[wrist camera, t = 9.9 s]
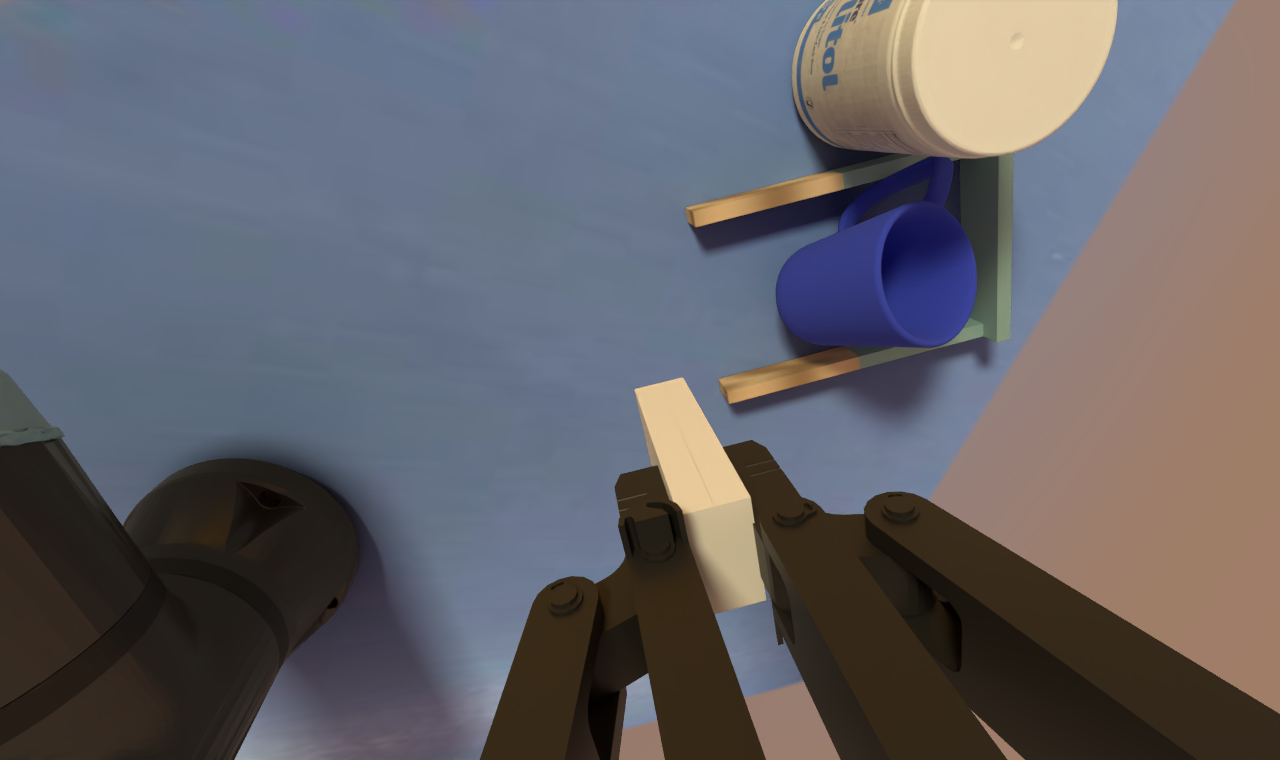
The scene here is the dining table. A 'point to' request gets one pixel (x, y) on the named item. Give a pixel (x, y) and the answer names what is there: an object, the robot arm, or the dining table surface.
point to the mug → (885, 271)
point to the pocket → (988, 233)
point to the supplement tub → (948, 72)
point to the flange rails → (798, 368)
